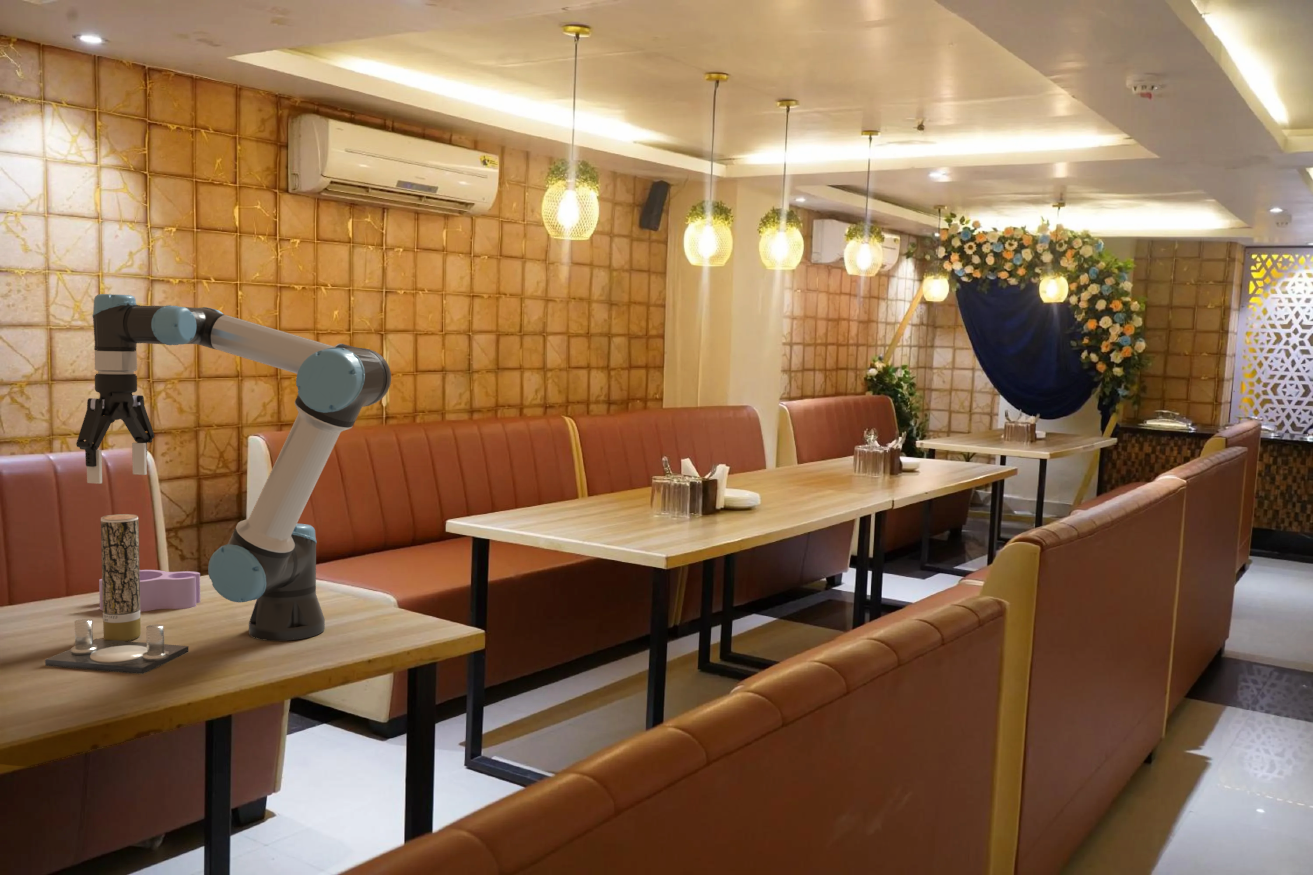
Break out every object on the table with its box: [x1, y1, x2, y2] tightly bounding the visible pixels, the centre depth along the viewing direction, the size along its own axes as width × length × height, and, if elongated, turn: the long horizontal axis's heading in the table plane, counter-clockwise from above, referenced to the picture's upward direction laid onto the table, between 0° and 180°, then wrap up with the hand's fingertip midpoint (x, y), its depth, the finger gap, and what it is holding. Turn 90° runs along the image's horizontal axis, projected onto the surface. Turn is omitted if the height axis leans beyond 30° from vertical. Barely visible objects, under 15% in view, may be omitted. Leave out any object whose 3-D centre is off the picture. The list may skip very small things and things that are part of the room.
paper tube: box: [100, 513, 142, 642], centre depth 215 cm, size 7×7×25 cm
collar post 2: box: [143, 623, 169, 661], centre depth 200 cm, size 4×4×6 cm
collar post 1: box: [70, 618, 97, 655], centre depth 203 cm, size 4×4×6 cm
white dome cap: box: [90, 645, 147, 663], centre depth 202 cm, size 10×10×1 cm
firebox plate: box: [44, 638, 189, 675], centre depth 203 cm, size 20×14×1 cm
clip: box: [98, 569, 201, 613], centre depth 242 cm, size 20×12×7 cm, turn 100°
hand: (117, 478), depth 213 cm, fingers open, 13 cm apart
